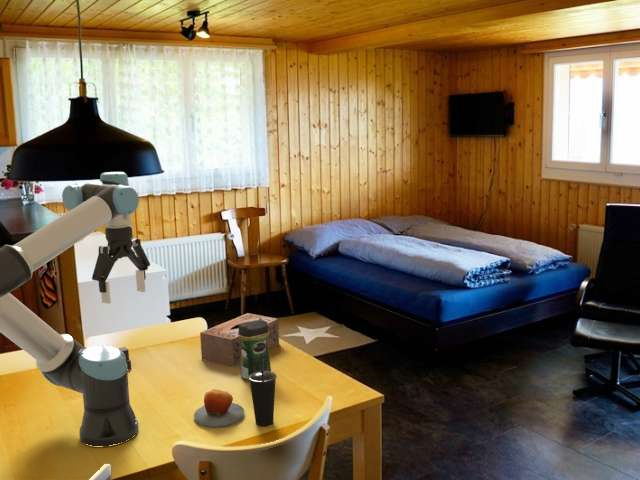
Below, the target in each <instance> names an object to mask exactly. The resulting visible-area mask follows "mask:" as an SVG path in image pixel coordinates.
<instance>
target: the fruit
mask: <svg viewBox="0 0 640 480" xmlns="http://www.w3.org/2000/svg"><path fill="white" fill-rule="evenodd" d="M233 401H234V397H233V395H232V394H230V393H229V392H228V391H224V390H221V389H213V388H212V389H211V390H209V391H206V392H205V394H204V397H203V404H204V405H203V406H205V409H206V412H207V415H210V414H215V415H217V416H218V417H219V418H220V415H222V414H224V413H226V412H227V411H228V409H229V408H230V406H231V404H232V403H233Z"/></svg>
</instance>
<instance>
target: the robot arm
mask: <svg viewBox="0 0 640 480" xmlns="http://www.w3.org/2000/svg"><path fill="white" fill-rule="evenodd" d="M128 177H129V176H128V175H127V173H125V172H124V171H110V172H109V171H108V172H102V173H101V174H100V177H99V178H100V179H99V181H93V182H92V181H91V182H84V183H83V182H81V183H75V184H70V185H67V186H65V187H64V188H63V191H62V195H61V198H62V205H63V206H64V208H65V209H66V210H67V212H66V213H64V214H62V215H60V216H59V217H57V218H56V219H53V220H52V221H50V222H49V223H48V224H45V225H44V226H43V227H40V229H38V230H36V231H34V232H32V233H31V234H29V235H28V236H26V237H24V238H23V239H22V240H20V241H18V242H17V243H15V244H13V245H11V244H10V245H9V244H4V245H3V246H1V247H0V334H2V335H4V337H5V338H7V339H8V340H9V341H11V342H12V343H14V344H15V345H16V346H17V347H18V348H20V349H21V350H23V351H24V352H26V353H27V354H28V355H29V356H31V357H32V358H33V359H35V360H36V361H35V363H36V368H37V369H38V370H39V371H40V373H41V374H42V376H43V378H44V379H46V380H47V382H49V383H51V384H52V385H55V386H57V387H62V388H66V389H68V390H71V391H73V392H77V393H80V394H82V399H83V400H82V401H83V410H84V411H83V416H82V421H81V426H80V428H79V440H81V441H82V442H83V443H85V444H88V445H92V446H109V445H113V444H118V443H121V442H124V441H126V440H128V439H130V438H132V437H133V436H134V435H136V436H137V435H138V433H139V430H138V429H139V421H138V419H137V417H136V415H135V412H134V410H133V408H132V406H131V402H130V389H129V379H128V378H129V377H128V376H129V375H128V370H127V363H126V358H125V354H124V353H123V352H122V351H121V350H120V349H118V348H119V347H116V346H114V345H113V346H112V345H103V344H102V345H93V346H90V347H85V346H84V345H82V344H81V343H79V341H78V340H76V339H75V338H73V337H72V336H71V334H68V333H61V334H59V332H58V331H56V330H54V329H53V327H51V326H50V325H49V324H48V323H47V322H45V321H44V320H43V319H42V318H40V317H39V316H38V315H37V314H36V313H35V312H33V311H32V310H31V309H30V308H29V307H27V306H26V304H23V302H21V301H20V300H19V299H18V298H16V296H14V295H13V294H12V293H11V292H13V291H14V290H16V289H18V288H20V287H21V286H22V285H24V284H26V283H27V282H29V281H30V280H31V279H32V278H33V274H34V273H33V272H35V271H36V270H39V269H40V268H41V267H43V266H44V265H45V264H47V263H48V262H51V260H53V259H55V258H56V257H57V256H59V255H61V254H62V253H64V252H65V251H67V250H68V249H69V248H71V247H73V246H74V245H75V244H77V243H79V242H81V241H82V240H83V239H85V238H87V237H88V236H89V235H90V234H92V233H94V232H95V231H97V230H98V229H100V228H101V227H103V226H105V228H104V234H105V240H106V241H107V245H99V246H98V254H97V258H96V261H95V266H94V269H93V273H92V277H91V279H92V281H97V282H98V290H99V292H100V294H101V303H104V304H109V305H110V304H111V303H112V302H111V291H110V290H111V288H110V281H109V280H107V279H108V278H109V276H110V274H111V272H112V270H113V267H114V265H115V264H116V263H117V261H118V260H119V259H123V258H128V259H129V260H130V262H131V263H132V264H133V265H134V266H135V267H136V269H135V280H136V281H135V282H136V291H137V292H142V293H146V283H145V280H146V278H147V276H146V271H147V270H148V269H149V267H150V266H151V262H150V261H149V259H148V257H147V254H146V252H145V250H144V249H143V246H142V243H141V238H134V235H133V226H132V214H134V213H135V212H136V211H137V209H138V207H139V205H140V198H139V194H138V192H137V191H136V189H134V188H133V187H131V186H129V185H130V184H129V179H128ZM132 248H133V249H132ZM137 432H138V433H137ZM134 437H135V436H134ZM134 437H133V438H134ZM133 438H132V439H133ZM130 440H131V439H130ZM81 441H80V442H81ZM82 442H81V443H82ZM83 443H82V444H83ZM124 443H125V442H124Z"/></svg>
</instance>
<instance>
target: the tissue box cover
mask: <svg viewBox="0 0 640 480" xmlns="http://www.w3.org/2000/svg"><path fill="white" fill-rule="evenodd" d="M259 319H262V320H264V321H266V322H267V325H268V330H269V335H268V339H267V345H268V350H270V349H272V348H274V347H276V346H279V345H280V332H279V330H280V329H279V318H277V317H270V316H264V315H261V314H255V313H254V314H253V313H249V312H247V313H245V314H242V315H240V316H237V317H236V318H232V319H230V320H228V321H225V322H223V323H220V324H218V325H215V326H212V327H211V328H208V329H205V330H203V331H200V332H199V335H200V350H201V351H200V353H201V360H203V361H208V362H211V363H216V364H221V365H224V366H226V367H227V366H228V367H233V368H234V367H236V366H238V365H241V340H240V338H239V335H238V331H239V324H240V323H246V322H250V321H255V320H259Z"/></svg>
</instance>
